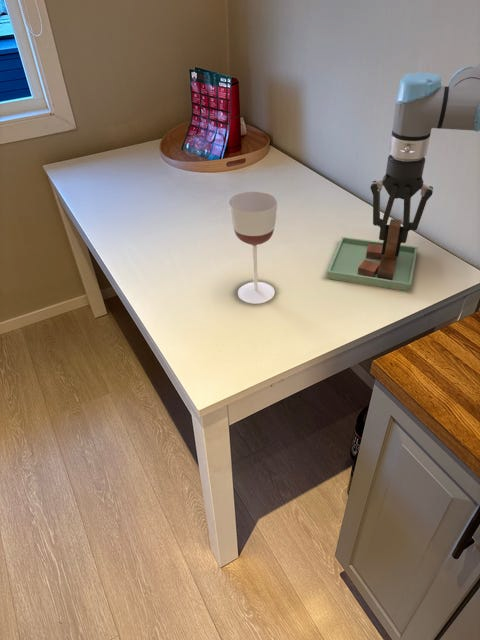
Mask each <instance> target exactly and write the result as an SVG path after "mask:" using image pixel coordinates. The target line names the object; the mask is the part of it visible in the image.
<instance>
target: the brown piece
mask: <svg viewBox="0 0 480 640" xmlns="http://www.w3.org/2000/svg"><path fill="white" fill-rule="evenodd" d="M402 222H403V220H402V219H397V218H396V219H395V218H391V219H390V222H389V224H388V225H389V230H388V236H387V243H386V249H385V255H382V259H381V262H380V266H379V269H378V275H377V277H378V278H381V279H387V280H392V279H393V275H394V271H395V267H396V262H397V258H398V257H397V256H395V253H396V247H397V242H398V236H399V231H400V227H401V226H402Z"/></svg>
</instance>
